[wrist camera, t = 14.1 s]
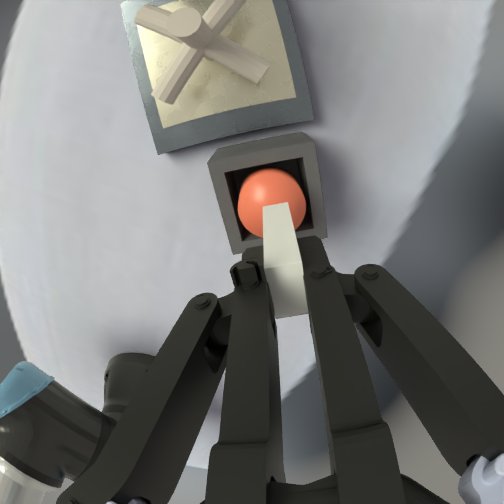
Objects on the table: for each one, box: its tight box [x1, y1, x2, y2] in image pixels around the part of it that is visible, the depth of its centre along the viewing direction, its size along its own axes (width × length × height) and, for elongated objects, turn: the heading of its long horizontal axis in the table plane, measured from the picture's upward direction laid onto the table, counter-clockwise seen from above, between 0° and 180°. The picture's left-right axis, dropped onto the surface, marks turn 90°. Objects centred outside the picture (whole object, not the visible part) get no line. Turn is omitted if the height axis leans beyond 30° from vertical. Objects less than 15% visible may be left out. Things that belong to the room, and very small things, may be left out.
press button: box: [238, 166, 306, 238], centre depth 22 cm, size 5×5×3 cm
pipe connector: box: [134, 0, 272, 105], centre depth 15 cm, size 10×10×10 cm
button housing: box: [207, 132, 327, 255], centre depth 24 cm, size 8×8×6 cm
